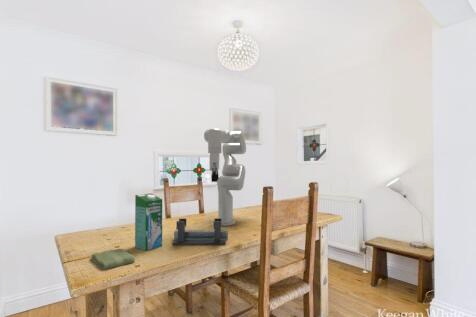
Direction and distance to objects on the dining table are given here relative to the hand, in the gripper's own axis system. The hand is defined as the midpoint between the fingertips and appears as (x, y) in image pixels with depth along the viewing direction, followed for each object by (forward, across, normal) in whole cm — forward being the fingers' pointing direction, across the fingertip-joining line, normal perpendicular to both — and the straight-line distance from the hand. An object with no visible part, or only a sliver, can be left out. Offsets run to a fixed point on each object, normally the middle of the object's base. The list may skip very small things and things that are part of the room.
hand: (215, 180), depth 150 cm
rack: (+29, +20, -7) cm, 36 cm away
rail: (+29, +12, -7) cm, 32 cm away
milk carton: (+29, +24, -30) cm, 49 cm away
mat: (+30, +12, -7) cm, 33 cm away
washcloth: (+29, +42, -40) cm, 64 cm away
